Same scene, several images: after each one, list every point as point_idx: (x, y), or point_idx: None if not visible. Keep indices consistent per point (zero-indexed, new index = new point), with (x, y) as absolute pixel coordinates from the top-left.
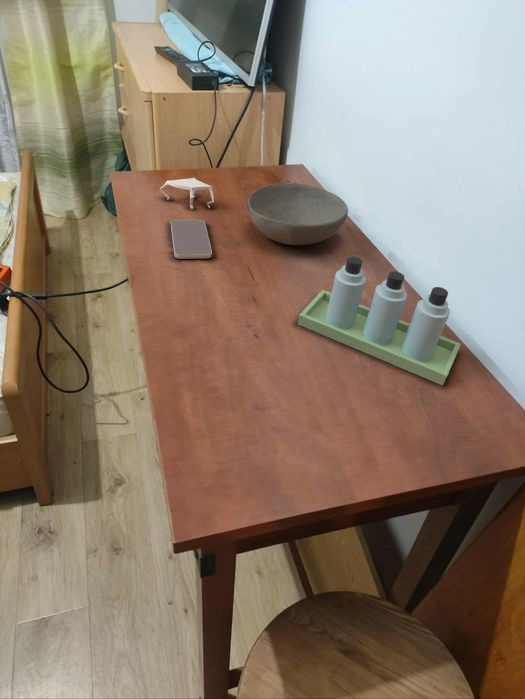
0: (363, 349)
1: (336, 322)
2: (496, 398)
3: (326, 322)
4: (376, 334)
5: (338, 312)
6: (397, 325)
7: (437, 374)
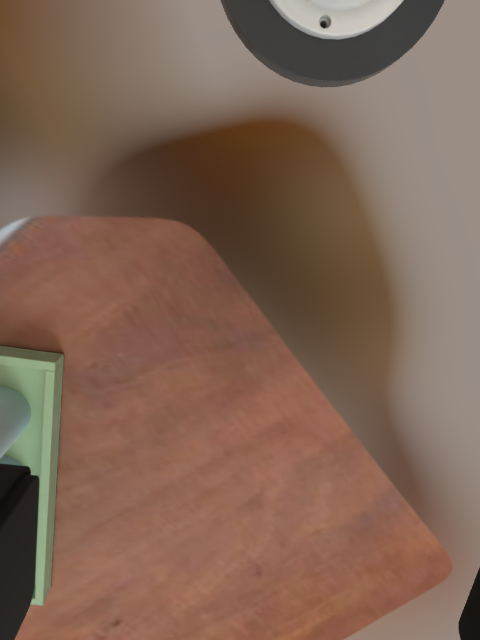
0: (54, 489)
1: None
2: (40, 258)
3: None
4: None
5: None
6: None
7: (56, 376)
